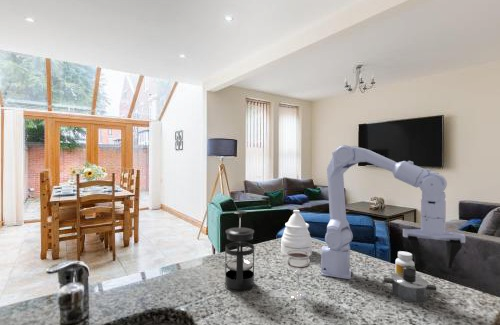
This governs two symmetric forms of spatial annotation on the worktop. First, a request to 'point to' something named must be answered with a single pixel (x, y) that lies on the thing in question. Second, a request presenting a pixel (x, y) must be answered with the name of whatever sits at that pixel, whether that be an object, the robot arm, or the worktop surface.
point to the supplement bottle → (403, 261)
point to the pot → (409, 292)
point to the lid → (409, 279)
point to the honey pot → (296, 235)
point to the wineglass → (298, 268)
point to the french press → (239, 258)
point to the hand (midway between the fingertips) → (432, 264)
